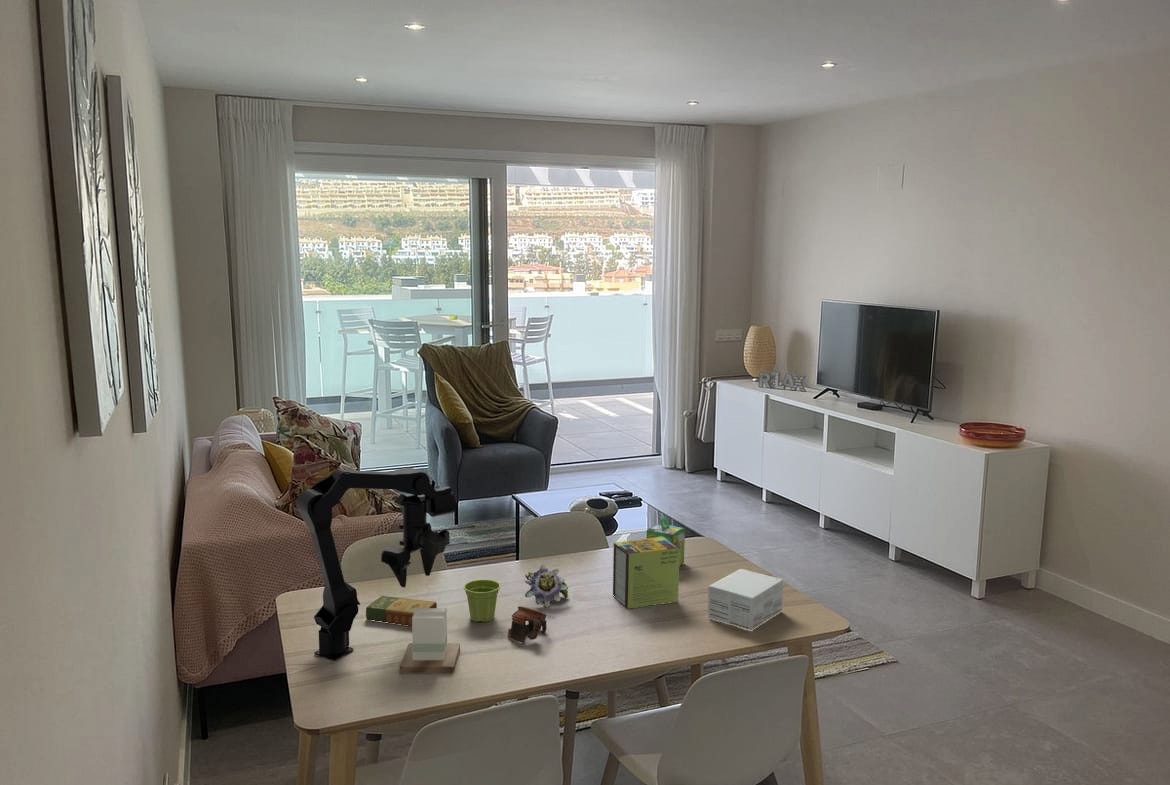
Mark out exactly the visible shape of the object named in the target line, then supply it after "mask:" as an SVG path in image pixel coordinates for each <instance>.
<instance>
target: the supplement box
mask: <svg viewBox="0 0 1170 785" xmlns="http://www.w3.org/2000/svg"><path fill="white" fill-rule="evenodd" d="M707 590H708V592H707V593H708V595H707V619H708V618H711V619H715V620H719V621H723V622H726V623H729V624H733V625H736V626H739V627H743V628H746V629H750V630H752V629H754V628H755V627H757V626H759V625H760V624H762V623H763V622H764V621H766V620H767V619H769V618H771V617H772V616H774V615H775V614H777V613H778V612H780V611H781V610H782V611H783V593H784V579H783V578H778V577H775V576H771V575H766V574H762V573H759V572H755V571H751V570H748V569H744V568H739V569H737V570H736V571H733V572H732V573H730V574H727V576H725V577H723V578H721V579H719V580H717V581H715V582H713V583H712V584H709V585H708V588H707Z"/></svg>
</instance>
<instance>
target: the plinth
mask: <svg viewBox="0 0 1170 785" xmlns="http://www.w3.org/2000/svg"><path fill="white" fill-rule="evenodd" d="M412 643H413V642H412ZM412 643H410V642H408V644H407V647H406V650H405V652H404V654H403V656H402V659H401V662H400V664H399V674H454V673H455V671H456V670H455V669H456V666H457V662H458V658H459V655H460V651H461V643H460V642H459V643H456V642H455V643H451V642H450V643H448V642H447V652H446V655H445V659H444V660H413V652H412Z"/></svg>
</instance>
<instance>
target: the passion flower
mask: <svg viewBox="0 0 1170 785" xmlns="http://www.w3.org/2000/svg"><path fill="white" fill-rule="evenodd" d="M559 570H560V569H559V568H556V569H553V570H552V571H551V570H549V568H547V567H546V565H545V564H543V563H542V564H541V565H540V567H539V569H538V570H536V572H535V571H534V572H530V571H528V574H526V573H525V578H526V580H525V581H524V582H525V584H527V585H528V586H530V589H528V590H527V591H526V593H525V594H524V597H526V598H531V597H533V596H534V597H535V603H536V605H538V606H539V605H540V604H543V606H544V607H545V608H546V607H547V608H548V607H549V606H550V604H551V600H552V599H553V600H554V601H555V602H557V603H560V601H561V597H560V593H561V594H562V596H563V597H564V599H565V600H566V598H567V599H568V598H569V594H568V593H569V591H568V589H569V586H568V584H567V583H566V582H565V580H566V578H565V577H560V575H558V574H559Z"/></svg>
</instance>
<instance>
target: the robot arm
mask: <svg viewBox="0 0 1170 785" xmlns="http://www.w3.org/2000/svg"><path fill="white" fill-rule="evenodd" d="M349 489H367V490H368V489H369V490H371V489H372V490H374V489H375V490H393V491H398V492H401V493H400V494H399V495H398V497H395V498H396V499H394V500H393V503H394V504H395V505H398V506H400V507H402V523H400V524H398V529H400V530H402V539H401V540H399V546H402V547H398V546H391V547H389V548H387V549H384V550H383V551H382V552H381V553H380V561H381V563H384V564H385V565H388V566H389V568H390V569H391V571H392V573H393V574H394V576H395V578H396V579H397V583H399V585H400V587H401V588H406V586H407V576H408V574H407V571H408V567H409V566H410V565H411V563H412V562H411V561H410V560H411V554H413V553H415V552H418V551H419V552H420V556H421V561H422V567H423V572H424V574H425V576H427V577H429V576H430V575H431V572H432V569H433V567H434V562H435V560H436V557H437V556H438V555H439V554H441V553H443V554H444V552H445V549H446V547H447V546H448V545H450V544H451V542H450V539H451V536H450V530H447V529H442V530H440V531H433V530H432V525H431V523H430V522H427V518H428V516H427V514H428V515H429V516H430V517H432V518H434V517H439V516H445V515H449V514H450V515H451V514H454V513H455V512H456V510H457V507H458V506H457V505H458V503H457V500H456V497H455V495H454V493H453V489H452V487H451V486H442V487H440V488H435V487H433V485H432V484H431V481H430V476H429V475H428V474H427V473H426V472H424V471H421V470H418V469H416V468H414V467H404V468H397V469H395V470H392V471H379V470H378V471H377V470H376V471H373V470H371V471H370V470H351V469H350V470H349V469H343V468H337V469H336V470H334V471H333V472H331V473H330V474H329V475H328V476H327V477H324V478H323V479H320V480H319V481H317V482H315V483H313V485H312V486H311V487H309V488H308V489H305V490H302V491H301V492H300V493H299V495H298V497H297V498H296V499H295V505H296V509H297V511H298V513H299V515H300V517H301V519H302V520H303V523H305V525H306V526H307V527H308V530H309V531H310V534H311V536H310V537H311V538H312V542H313V546H314V550H315V554H316V557H317V562H318V565H319V568H320V573H321V576H322V582H323V584H324V587H323V593H322V602H323V605H322V606H321V607H320V608H319V610H318V611H317V612H316V613H315V615H314V616H313V619H314V621H315V624H316V625H318V626H319V627H320V629H319V630H318V649H317V650H316V651H314V654H313V655H314V656H317V657H320V658H325V659H327V660H330V661H331V660H332V661H336V660H338V659H340V658H342V657H344V656H346V655H348V654H350V653H351V652H353V651H354V647H352V646H350V632H351V630H352V627H353V626H352V625H353V623H354V619H356V616H357V615H358V614H359V606H360V605H361V602H360V601H359V600H358V592H357V588H355V587H354V586H352V585H351V584H349V583H348V582H346V581H345V579H344V578H345V577H344V574H343V571H342V570H343V569H342V566H341V563H340V560H339V554H338V551H337V546H336V543H335V539H334V535H333V531H332V523H333V519H334V515H333V514H334V512H333V508H334V507H335V506H336V505H338V504H339V503H340V501H341V500H342V499H343V497H344V495H345V494H346V492H347V491H349ZM403 493H406V494H409V495H405V494H403ZM422 495H423V496H422Z"/></svg>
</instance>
